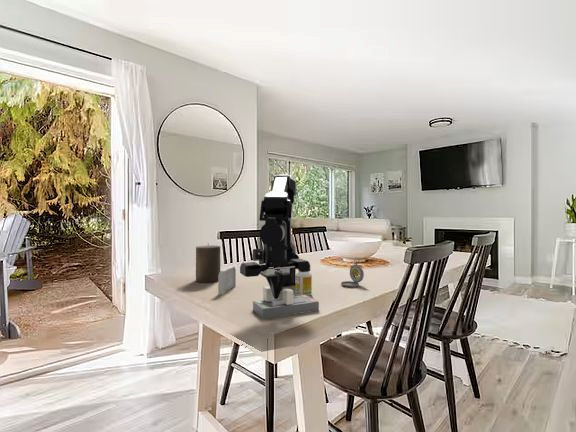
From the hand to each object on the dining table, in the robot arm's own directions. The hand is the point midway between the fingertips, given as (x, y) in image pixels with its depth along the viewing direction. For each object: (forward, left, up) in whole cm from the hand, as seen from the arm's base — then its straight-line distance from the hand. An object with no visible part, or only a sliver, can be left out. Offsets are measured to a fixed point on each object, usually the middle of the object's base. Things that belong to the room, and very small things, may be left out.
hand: (275, 298), depth 89 cm
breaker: (0, -5, -2) cm, 5 cm away
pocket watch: (-40, -19, -5) cm, 44 cm away
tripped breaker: (-4, 0, -2) cm, 4 cm away
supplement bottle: (-17, -15, -5) cm, 23 cm away
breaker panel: (-4, -2, -4) cm, 6 cm away
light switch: (+5, -31, -5) cm, 32 cm away
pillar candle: (+8, -50, -5) cm, 51 cm away
